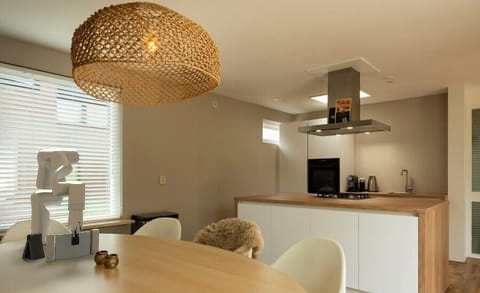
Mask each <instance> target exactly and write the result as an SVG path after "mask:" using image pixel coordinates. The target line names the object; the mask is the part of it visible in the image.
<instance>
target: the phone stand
mask: <svg viewBox="0 0 480 293" xmlns="http://www.w3.org/2000/svg"><path fill="white" fill-rule="evenodd" d="M21 258H22V259H23V260H28V261H35V260H39V259H43V258H46V253H45V250H44V245H43V243H42V233H34V234H31V233H30V234H27V235H26V242H25V244H24V249H23V252H22V256H21Z"/></svg>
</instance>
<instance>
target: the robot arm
mask: <svg viewBox="0 0 480 293" xmlns="http://www.w3.org/2000/svg"><path fill="white" fill-rule="evenodd" d="M36 161H37V164H38V165H37V166H38V170H37V175H36V183H35V186H36V188H37V189H38V190H36V191H34V192H32V193H31V195H30V198H29V199H30V205H31V218H30V219H31V221H30V234H34V233H42V243H43V246H44V245H46V236H47V234H50V218H51V217H50V216H51V213H50V211H49V210H48V208H47V207H50V206H51V207H52V206H59V205H61V204H62V203H63V201H64V198H65V197H68V200H67V211H68V217H67V230H68V231H70V232H71V233H72V238H71V245H79V235H80V232H82V231H83V228H84V227H83V226H84V211H85V208H86V184H85V182H80V181H67V179H66V177H68V176H69V175H71V174H72V172H73V166H72V165H76V164H78V163H79V161H80V154H79V152H78V151H77V149H71V148H69V149H67V148H66V149H65V148H55V149H41V150H39V151H38V152H37V155H36Z"/></svg>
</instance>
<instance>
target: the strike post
mask: <svg viewBox="0 0 480 293" xmlns="http://www.w3.org/2000/svg"><path fill="white" fill-rule="evenodd" d="M55 236H56V234H55V233H49V234H47V236H46V244H45V262H53V261H54V260H55Z"/></svg>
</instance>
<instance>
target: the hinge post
mask: <svg viewBox="0 0 480 293" xmlns="http://www.w3.org/2000/svg"><path fill="white" fill-rule="evenodd" d="M91 230H92V250H91V254H90V255H96V254H95V253H96V252H98V251H99V250H100V249H99V248H100V247H99V246H100V229H99V228H94V229H91Z"/></svg>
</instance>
